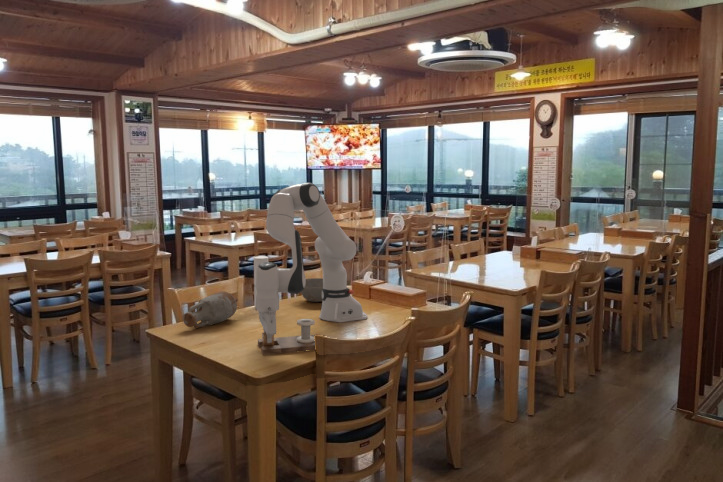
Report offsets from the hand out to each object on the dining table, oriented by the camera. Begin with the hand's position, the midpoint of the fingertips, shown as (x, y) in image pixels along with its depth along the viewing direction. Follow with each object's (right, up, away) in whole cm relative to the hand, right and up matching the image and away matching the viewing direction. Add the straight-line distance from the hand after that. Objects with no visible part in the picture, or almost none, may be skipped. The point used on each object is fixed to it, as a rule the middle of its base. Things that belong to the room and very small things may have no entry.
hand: (267, 339), depth 225 cm
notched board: (+9, -3, +3) cm, 10 cm away
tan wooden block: (0, -4, 0) cm, 4 cm away
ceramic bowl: (+13, +7, +81) cm, 82 cm away
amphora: (-30, +1, +36) cm, 47 cm away
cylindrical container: (-14, +5, +67) cm, 68 cm away
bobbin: (+14, -1, +5) cm, 15 cm away
